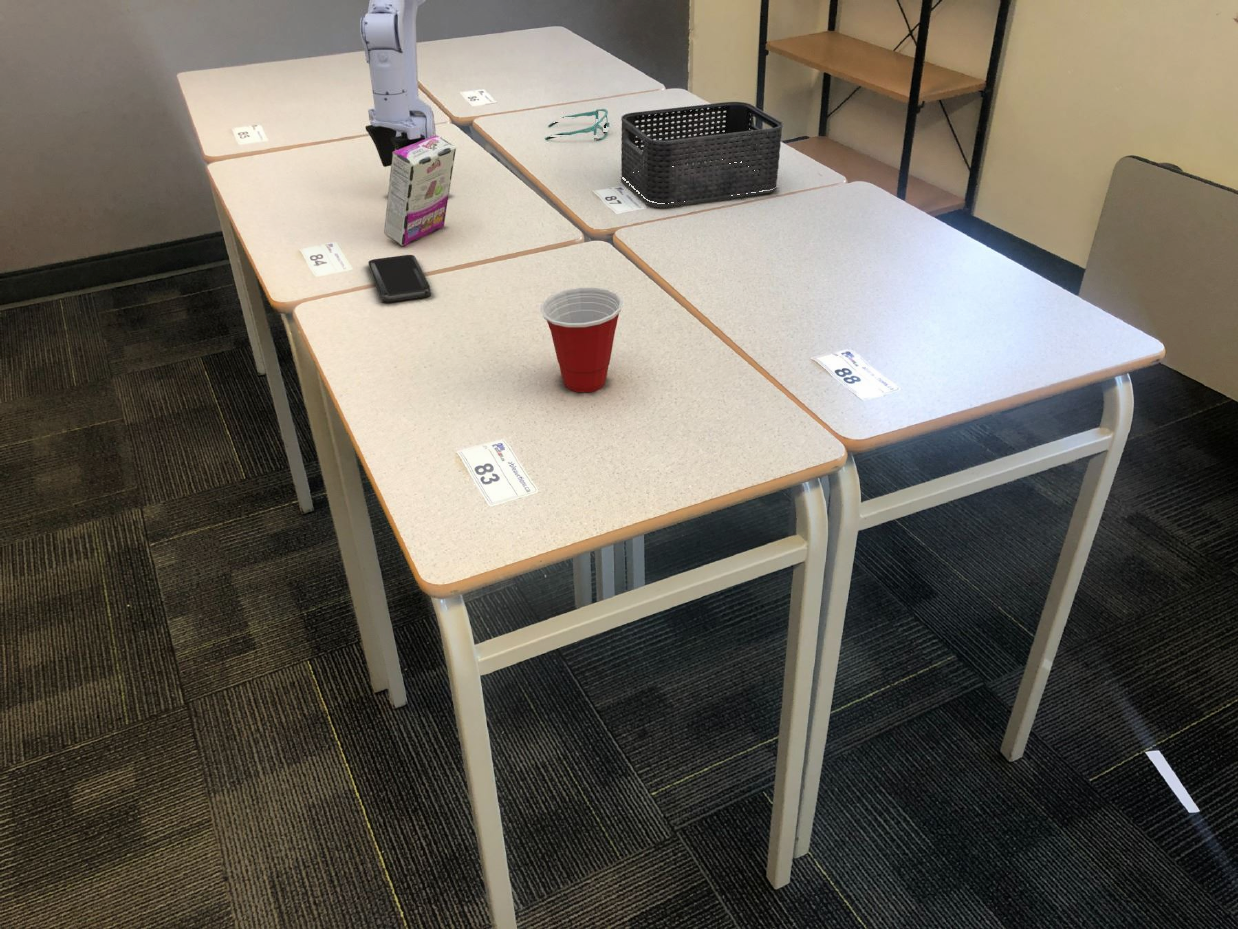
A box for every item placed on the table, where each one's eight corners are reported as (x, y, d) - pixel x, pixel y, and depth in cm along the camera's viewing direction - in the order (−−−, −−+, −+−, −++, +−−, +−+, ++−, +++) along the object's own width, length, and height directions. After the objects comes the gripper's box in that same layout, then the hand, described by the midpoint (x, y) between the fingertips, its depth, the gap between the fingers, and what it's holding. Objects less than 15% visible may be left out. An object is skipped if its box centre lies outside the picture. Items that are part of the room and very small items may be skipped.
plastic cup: (542, 363, 134) (538, 285, 127) (618, 361, 135) (619, 283, 128) (543, 404, 125) (540, 322, 118) (625, 401, 126) (626, 320, 119)
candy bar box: (423, 214, 175) (436, 133, 164) (444, 227, 174) (458, 147, 163) (381, 233, 168) (391, 149, 156) (402, 247, 166) (414, 164, 155)
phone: (381, 297, 148) (367, 259, 159) (382, 303, 148) (368, 266, 160) (432, 289, 150) (414, 253, 161) (432, 296, 151) (415, 259, 162)
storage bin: (651, 210, 182) (653, 140, 174) (615, 178, 197) (616, 112, 189) (782, 193, 191) (790, 125, 183) (738, 164, 205) (744, 99, 197)
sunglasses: (609, 143, 216) (607, 120, 213) (544, 148, 217) (541, 126, 214) (611, 125, 227) (609, 103, 224) (549, 130, 228) (546, 109, 225)
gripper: (348, 85, 163) (359, 164, 171) (389, 103, 154) (399, 186, 162) (385, 79, 167) (394, 157, 174) (427, 96, 158) (435, 177, 165)
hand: (399, 170), depth 168 cm, fingers open, 7 cm apart
